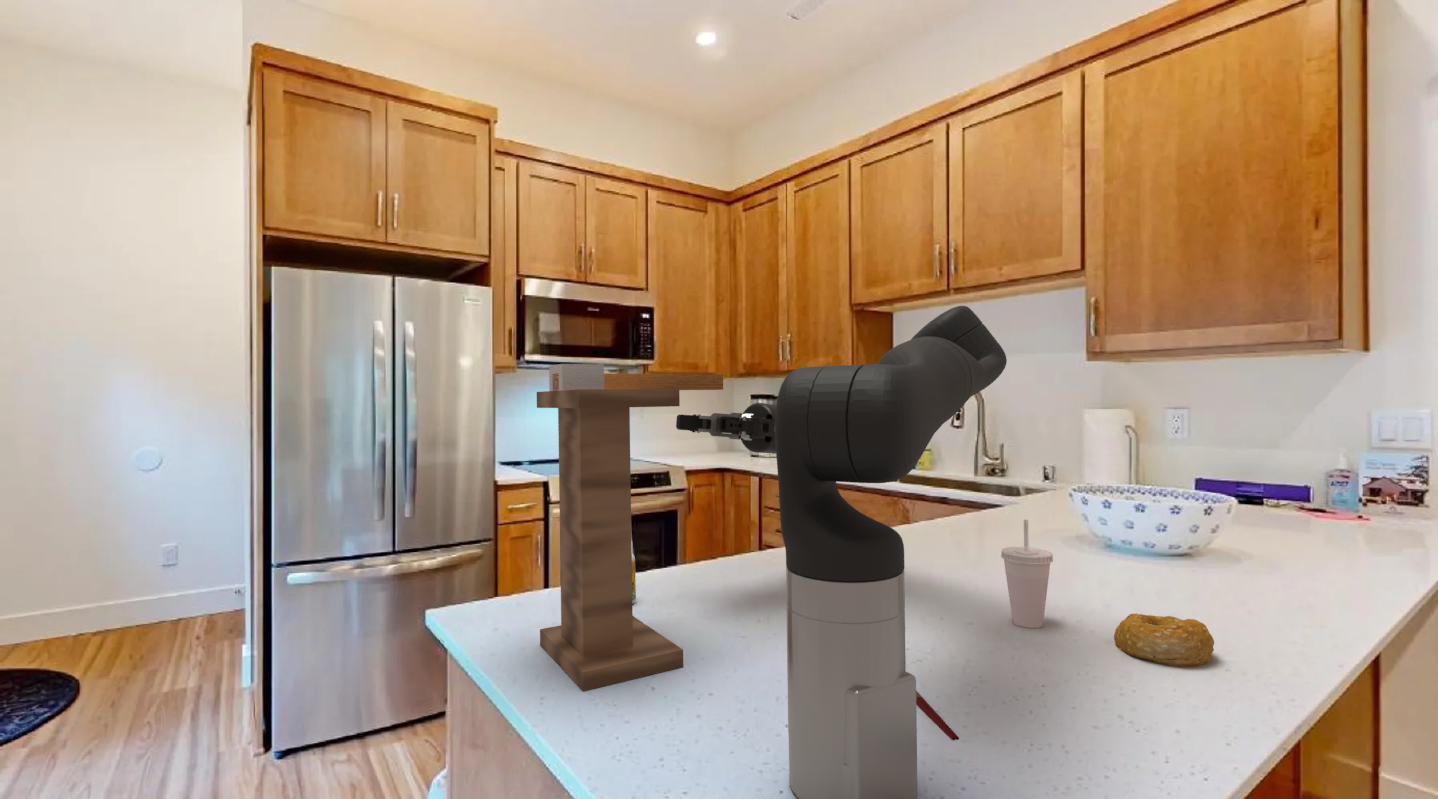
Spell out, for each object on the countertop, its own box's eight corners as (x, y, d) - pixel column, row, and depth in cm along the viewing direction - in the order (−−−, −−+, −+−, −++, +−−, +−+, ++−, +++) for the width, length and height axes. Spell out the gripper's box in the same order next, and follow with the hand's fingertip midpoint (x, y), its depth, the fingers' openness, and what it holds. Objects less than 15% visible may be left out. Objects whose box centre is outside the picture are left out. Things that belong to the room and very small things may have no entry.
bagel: (1208, 644, 83) (1207, 605, 83) (1220, 678, 73) (1219, 634, 73) (1114, 632, 88) (1113, 595, 88) (1114, 662, 78) (1113, 621, 78)
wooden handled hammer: (728, 389, 87) (728, 366, 87) (562, 390, 76) (562, 363, 76) (709, 390, 92) (708, 368, 92) (549, 391, 80) (549, 366, 80)
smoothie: (999, 627, 89) (998, 521, 89) (1004, 613, 95) (1002, 514, 95) (1053, 634, 86) (1052, 525, 86) (1054, 619, 92) (1053, 517, 92)
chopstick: (949, 745, 60) (948, 734, 60) (855, 647, 84) (855, 640, 84) (969, 743, 61) (969, 733, 61) (870, 647, 84) (870, 639, 84)
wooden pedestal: (683, 666, 78) (679, 388, 78) (582, 691, 71) (578, 389, 71) (628, 627, 91) (624, 391, 91) (540, 645, 85) (536, 391, 85)
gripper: (744, 404, 110) (667, 395, 99) (813, 405, 99) (735, 396, 88) (741, 450, 109) (663, 446, 98) (810, 456, 99) (731, 453, 88)
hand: (697, 423), depth 93 cm, fingers open, 8 cm apart
